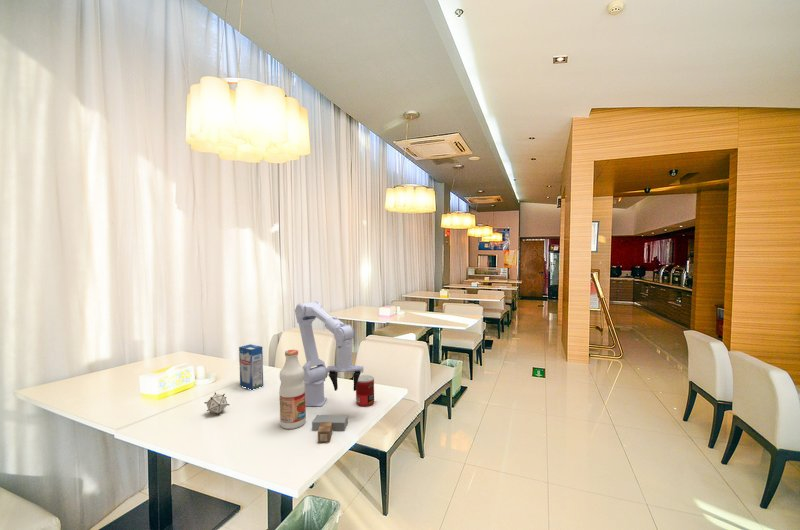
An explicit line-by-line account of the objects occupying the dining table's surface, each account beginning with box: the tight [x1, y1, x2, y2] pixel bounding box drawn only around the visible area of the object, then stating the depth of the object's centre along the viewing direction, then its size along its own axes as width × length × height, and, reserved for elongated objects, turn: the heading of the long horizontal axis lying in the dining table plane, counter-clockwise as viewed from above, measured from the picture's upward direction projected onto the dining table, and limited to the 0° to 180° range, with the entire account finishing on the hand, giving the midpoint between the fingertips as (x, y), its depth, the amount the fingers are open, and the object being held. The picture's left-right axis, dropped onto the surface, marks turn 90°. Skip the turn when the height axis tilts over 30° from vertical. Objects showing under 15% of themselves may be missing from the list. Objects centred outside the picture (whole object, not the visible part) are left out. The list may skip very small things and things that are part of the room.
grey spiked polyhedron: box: [204, 392, 231, 416], centre depth 141 cm, size 9×8×10 cm
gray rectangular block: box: [311, 414, 349, 432], centre depth 128 cm, size 12×6×3 cm, turn 87°
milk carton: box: [238, 344, 264, 391], centre depth 170 cm, size 10×6×20 cm, turn 58°
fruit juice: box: [279, 349, 307, 430], centre depth 131 cm, size 9×9×28 cm
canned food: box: [355, 374, 375, 408], centre depth 148 cm, size 8×8×11 cm
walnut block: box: [317, 422, 333, 444], centre depth 120 cm, size 4×4×7 cm
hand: (345, 389), depth 137 cm, fingers open, 7 cm apart
